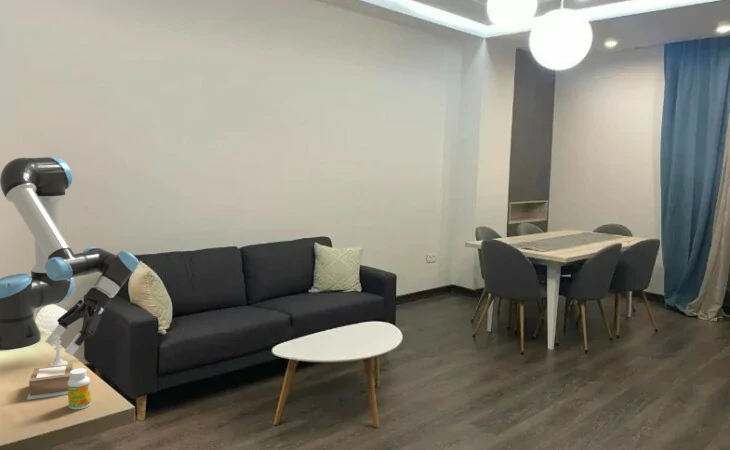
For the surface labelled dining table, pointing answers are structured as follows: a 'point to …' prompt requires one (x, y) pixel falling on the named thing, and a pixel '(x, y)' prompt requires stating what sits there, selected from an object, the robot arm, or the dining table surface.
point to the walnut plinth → (50, 379)
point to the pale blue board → (47, 395)
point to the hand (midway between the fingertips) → (58, 348)
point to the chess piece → (58, 354)
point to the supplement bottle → (79, 389)
